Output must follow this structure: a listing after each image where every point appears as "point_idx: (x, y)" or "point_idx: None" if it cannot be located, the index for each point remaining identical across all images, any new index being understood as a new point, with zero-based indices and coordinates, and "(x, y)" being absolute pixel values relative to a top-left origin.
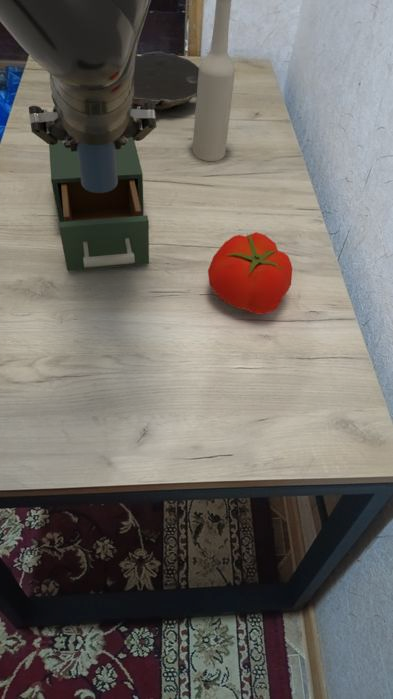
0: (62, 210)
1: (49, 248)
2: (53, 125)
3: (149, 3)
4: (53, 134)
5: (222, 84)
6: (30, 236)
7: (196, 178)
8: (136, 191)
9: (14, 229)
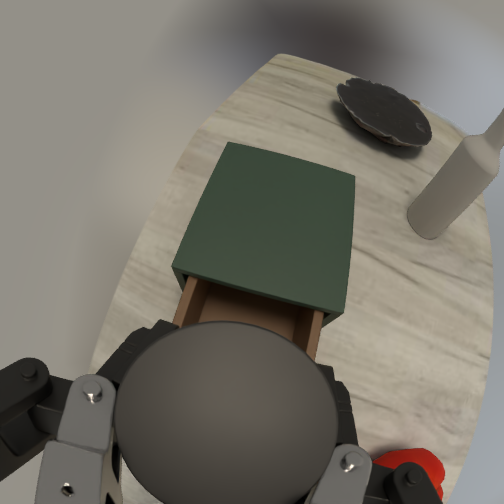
0: None
1: None
2: (34, 408)
3: None
4: (40, 426)
5: (484, 180)
6: (147, 291)
7: (403, 261)
8: (316, 346)
9: (135, 269)
